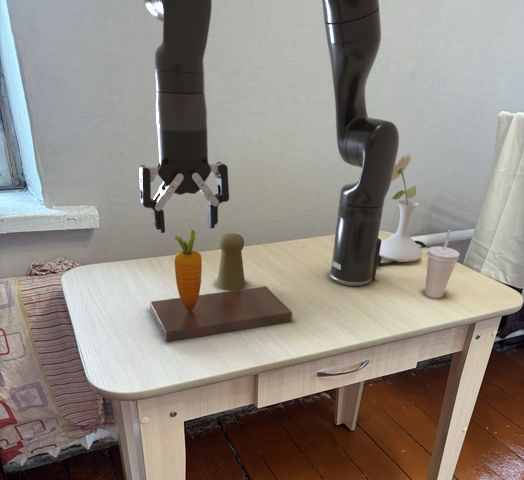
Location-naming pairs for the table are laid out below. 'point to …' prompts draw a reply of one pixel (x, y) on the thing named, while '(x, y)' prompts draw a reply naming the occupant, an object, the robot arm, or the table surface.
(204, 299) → the cutting board
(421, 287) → the table surface
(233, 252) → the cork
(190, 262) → the carrot
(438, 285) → the smoothie
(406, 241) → the flower in vase
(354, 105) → the robot arm
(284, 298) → the table surface
